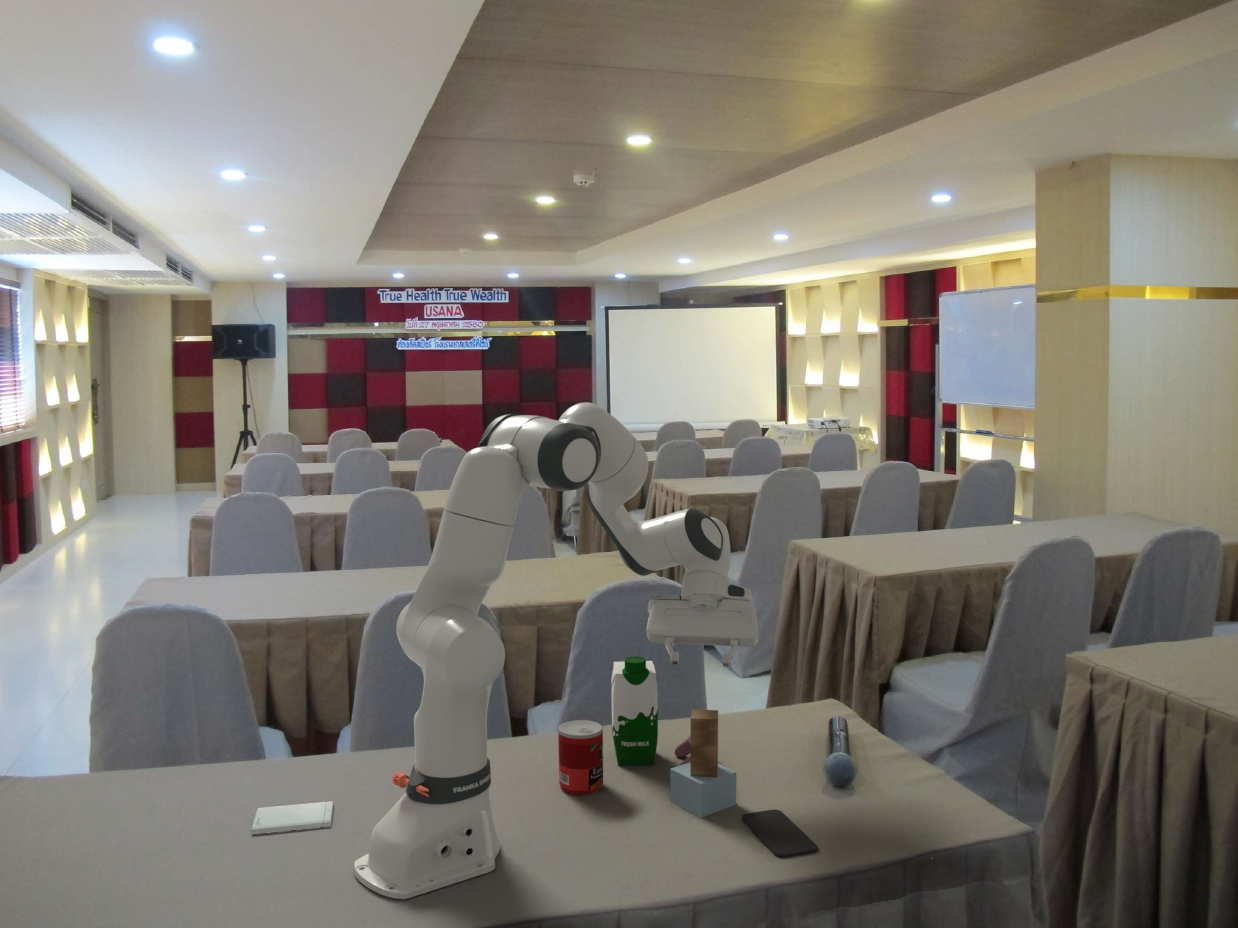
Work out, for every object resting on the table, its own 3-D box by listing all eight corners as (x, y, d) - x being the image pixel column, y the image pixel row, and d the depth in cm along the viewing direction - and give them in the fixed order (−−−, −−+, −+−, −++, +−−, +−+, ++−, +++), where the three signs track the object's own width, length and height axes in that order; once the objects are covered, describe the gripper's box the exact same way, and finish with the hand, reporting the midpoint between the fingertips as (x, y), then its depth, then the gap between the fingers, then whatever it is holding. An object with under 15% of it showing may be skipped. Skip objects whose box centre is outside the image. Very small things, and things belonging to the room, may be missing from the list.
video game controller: (698, 784, 185) (715, 751, 185) (676, 773, 185) (693, 740, 185) (693, 762, 195) (709, 731, 195) (672, 752, 195) (688, 721, 194)
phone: (778, 808, 171) (821, 848, 157) (778, 812, 171) (821, 853, 157) (738, 814, 169) (777, 855, 155) (738, 819, 169) (777, 860, 155)
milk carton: (613, 767, 189) (612, 663, 187) (611, 749, 198) (610, 649, 196) (660, 766, 190) (659, 662, 187) (655, 747, 199) (655, 648, 196)
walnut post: (690, 775, 171) (690, 718, 170) (691, 765, 176) (692, 709, 175) (717, 776, 171) (717, 719, 170) (718, 766, 175) (718, 710, 174)
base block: (701, 818, 169) (701, 783, 168) (670, 801, 175) (670, 768, 174) (736, 805, 173) (736, 771, 173) (705, 789, 180) (705, 757, 179)
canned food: (598, 797, 177) (597, 736, 175) (554, 793, 178) (553, 733, 177) (607, 779, 184) (606, 720, 183) (565, 776, 186) (564, 718, 185)
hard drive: (251, 828, 164) (330, 820, 166) (257, 806, 172) (333, 798, 174) (251, 838, 164) (331, 829, 167) (258, 816, 172) (333, 808, 175)
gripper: (647, 586, 187) (640, 652, 178) (759, 589, 184) (757, 657, 175) (650, 604, 192) (643, 669, 183) (759, 608, 189) (757, 675, 180)
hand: (700, 664), depth 179 cm, fingers open, 8 cm apart
